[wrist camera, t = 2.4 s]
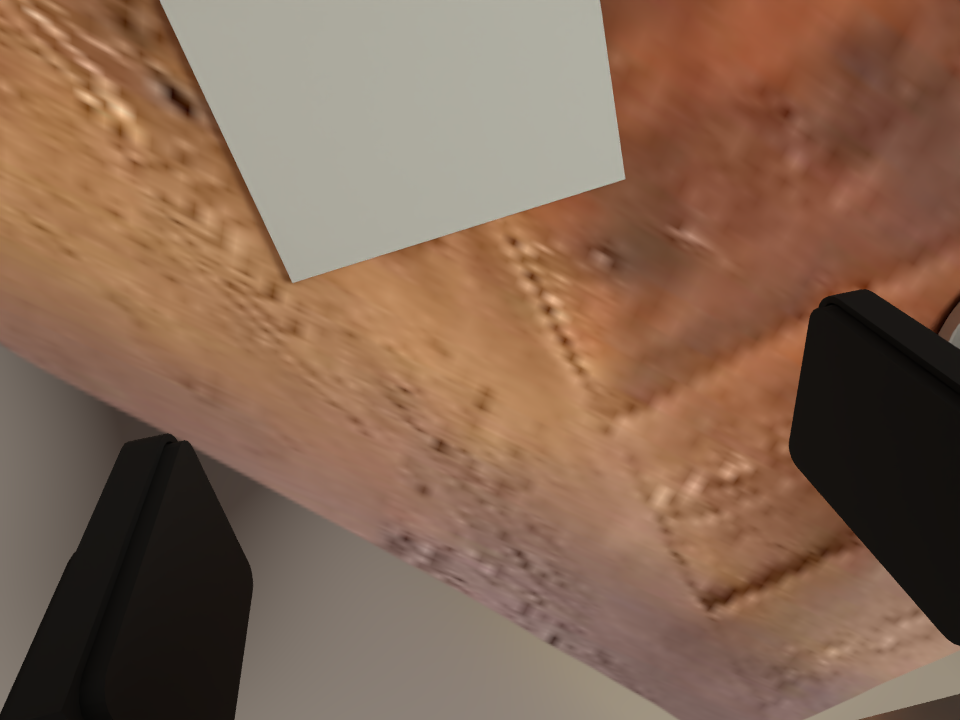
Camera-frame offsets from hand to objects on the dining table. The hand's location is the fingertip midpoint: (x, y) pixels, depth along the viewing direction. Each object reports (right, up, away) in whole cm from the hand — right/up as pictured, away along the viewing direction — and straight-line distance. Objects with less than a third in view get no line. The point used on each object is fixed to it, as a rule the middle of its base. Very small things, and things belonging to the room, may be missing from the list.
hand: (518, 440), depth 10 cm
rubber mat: (-3, +12, +18) cm, 22 cm away
